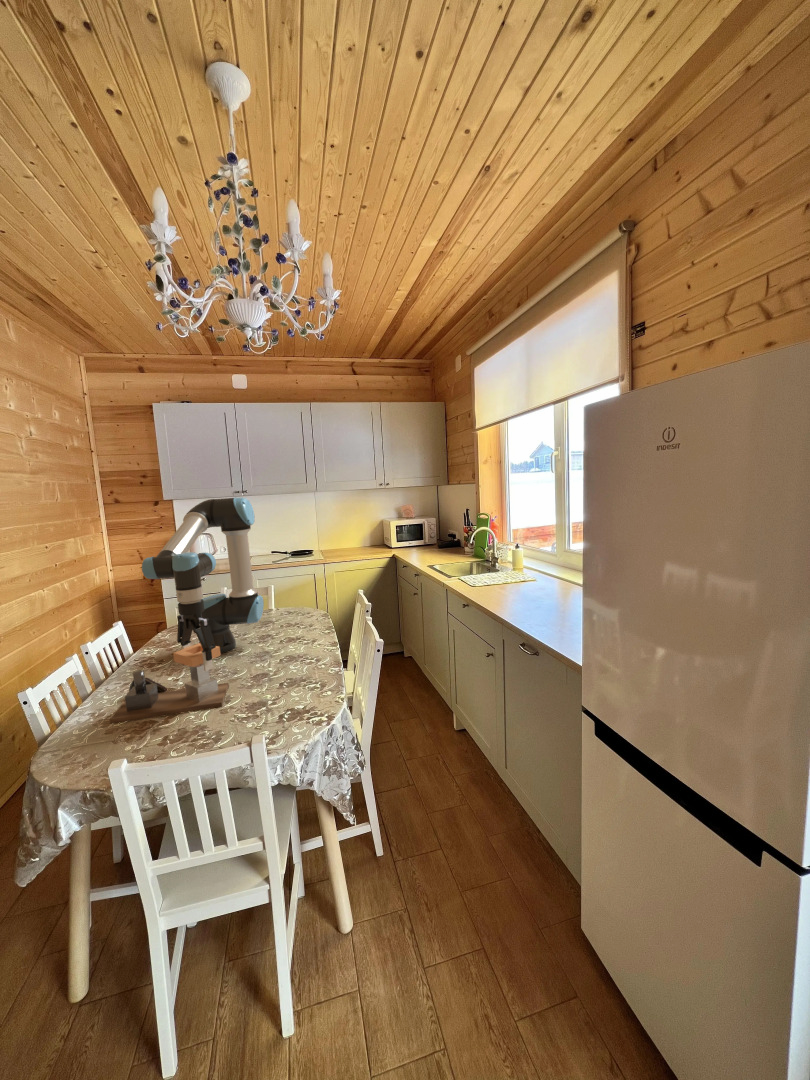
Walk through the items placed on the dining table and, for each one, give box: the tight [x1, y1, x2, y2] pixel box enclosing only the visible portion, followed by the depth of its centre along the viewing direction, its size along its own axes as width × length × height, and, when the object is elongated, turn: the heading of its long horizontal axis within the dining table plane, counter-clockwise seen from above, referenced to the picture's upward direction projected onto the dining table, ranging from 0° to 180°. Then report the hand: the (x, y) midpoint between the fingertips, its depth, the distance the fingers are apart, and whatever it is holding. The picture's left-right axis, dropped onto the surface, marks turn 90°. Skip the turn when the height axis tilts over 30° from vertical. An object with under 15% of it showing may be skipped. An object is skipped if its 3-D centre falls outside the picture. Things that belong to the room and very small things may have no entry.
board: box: [109, 682, 230, 725], centre depth 144 cm, size 14×32×2 cm, turn 103°
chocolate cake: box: [128, 677, 168, 693], centre depth 153 cm, size 10×7×12 cm
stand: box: [124, 669, 158, 712], centre depth 141 cm, size 7×7×11 cm
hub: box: [184, 663, 219, 703], centre depth 145 cm, size 7×7×11 cm
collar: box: [172, 642, 222, 668], centre depth 144 cm, size 10×10×3 cm
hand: (198, 666), depth 144 cm, fingers closed on collar, 10 cm apart
